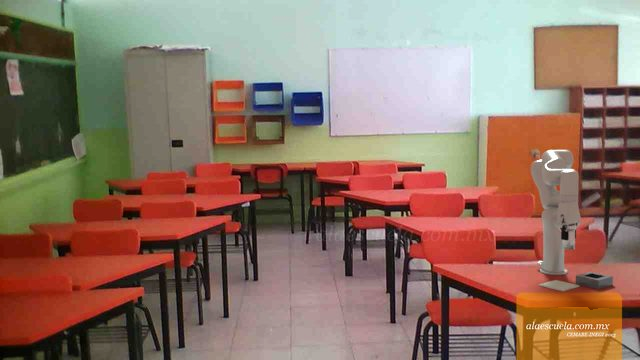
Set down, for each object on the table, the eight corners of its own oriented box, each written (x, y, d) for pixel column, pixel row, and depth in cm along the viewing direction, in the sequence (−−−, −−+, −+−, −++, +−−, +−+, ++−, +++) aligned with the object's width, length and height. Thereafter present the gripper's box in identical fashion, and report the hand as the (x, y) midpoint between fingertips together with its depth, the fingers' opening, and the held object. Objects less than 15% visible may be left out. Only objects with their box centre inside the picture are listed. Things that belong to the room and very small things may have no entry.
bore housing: (575, 284, 269) (575, 275, 269) (589, 280, 275) (590, 271, 275) (598, 289, 260) (598, 280, 260) (612, 285, 266) (612, 276, 266)
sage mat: (539, 285, 268) (539, 284, 268) (555, 281, 275) (555, 279, 275) (562, 291, 258) (562, 290, 258) (579, 286, 265) (579, 285, 265)
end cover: (558, 248, 266) (558, 225, 265) (566, 246, 269) (566, 223, 268) (571, 250, 261) (571, 226, 260) (578, 248, 264) (579, 225, 264)
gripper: (571, 196, 271) (571, 235, 273) (550, 199, 261) (549, 240, 263) (587, 197, 265) (587, 237, 267) (565, 201, 255) (565, 242, 257)
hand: (568, 238), depth 265 cm, fingers closed on end cover, 5 cm apart
